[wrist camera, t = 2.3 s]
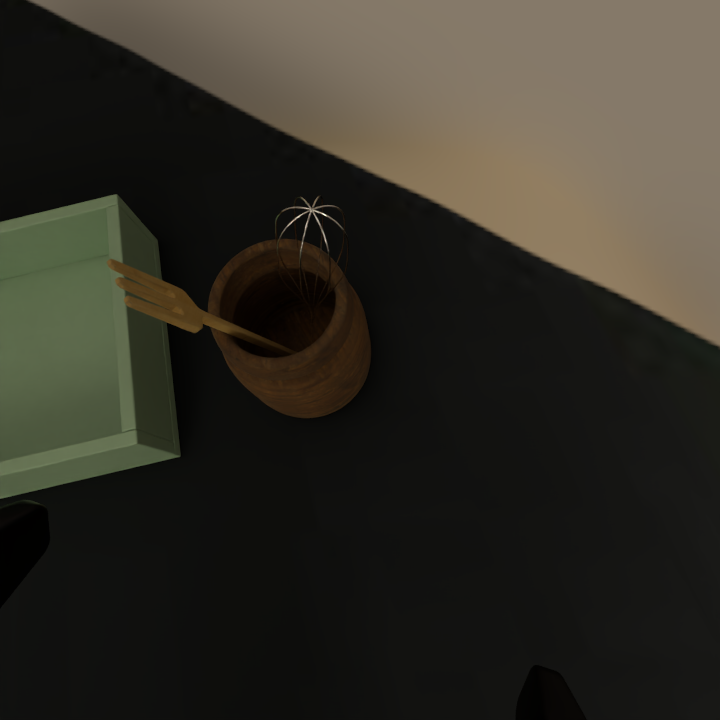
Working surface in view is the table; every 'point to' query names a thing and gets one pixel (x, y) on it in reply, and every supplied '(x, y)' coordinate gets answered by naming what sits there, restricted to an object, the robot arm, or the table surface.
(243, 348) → the utensil holder
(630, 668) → the table surface
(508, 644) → the table surface
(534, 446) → the table surface
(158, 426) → the tray
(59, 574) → the table surface
